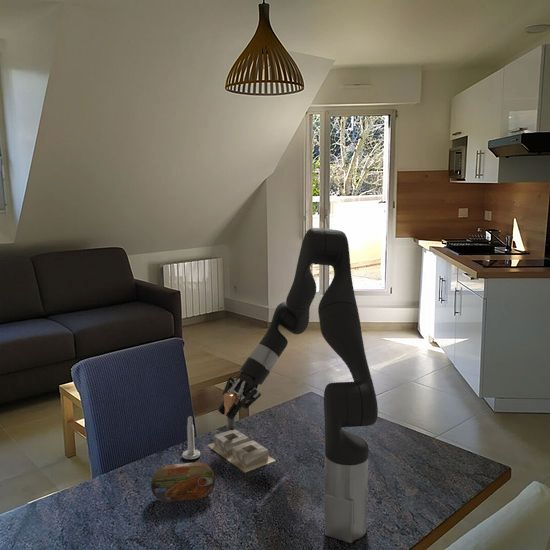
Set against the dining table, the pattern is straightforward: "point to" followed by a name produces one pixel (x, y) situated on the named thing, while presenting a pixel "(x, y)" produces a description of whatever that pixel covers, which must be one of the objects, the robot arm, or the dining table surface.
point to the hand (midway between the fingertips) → (224, 415)
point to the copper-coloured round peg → (228, 402)
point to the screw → (190, 442)
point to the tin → (183, 482)
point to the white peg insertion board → (240, 450)
